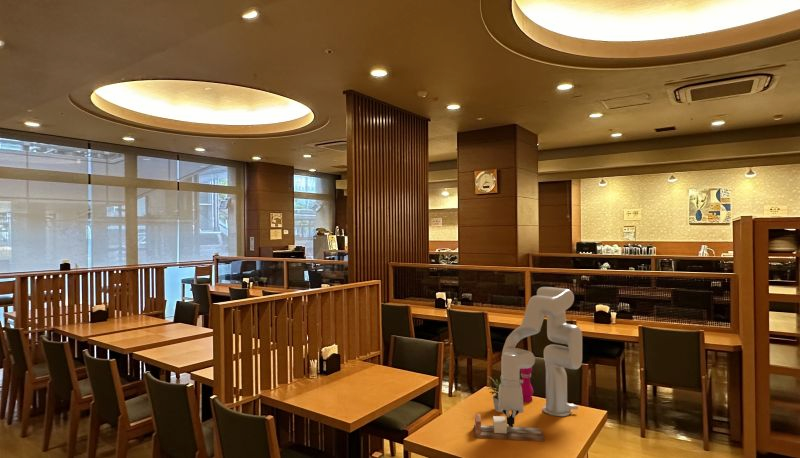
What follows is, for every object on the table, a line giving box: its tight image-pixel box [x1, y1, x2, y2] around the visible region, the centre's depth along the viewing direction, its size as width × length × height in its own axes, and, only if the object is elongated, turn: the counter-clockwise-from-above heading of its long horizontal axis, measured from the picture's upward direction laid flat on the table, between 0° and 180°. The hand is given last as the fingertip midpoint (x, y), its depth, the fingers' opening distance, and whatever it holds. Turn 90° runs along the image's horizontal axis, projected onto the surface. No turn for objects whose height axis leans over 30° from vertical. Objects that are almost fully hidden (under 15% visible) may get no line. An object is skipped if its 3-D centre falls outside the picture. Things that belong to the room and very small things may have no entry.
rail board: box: [473, 413, 545, 442], centre depth 192 cm, size 28×10×6 cm, turn 83°
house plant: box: [487, 375, 501, 413], centre depth 220 cm, size 14×14×16 cm
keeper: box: [492, 415, 508, 434], centre depth 192 cm, size 5×7×4 cm
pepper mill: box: [520, 366, 534, 403], centre depth 232 cm, size 7×7×20 cm
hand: (510, 425), depth 191 cm, fingers closed
